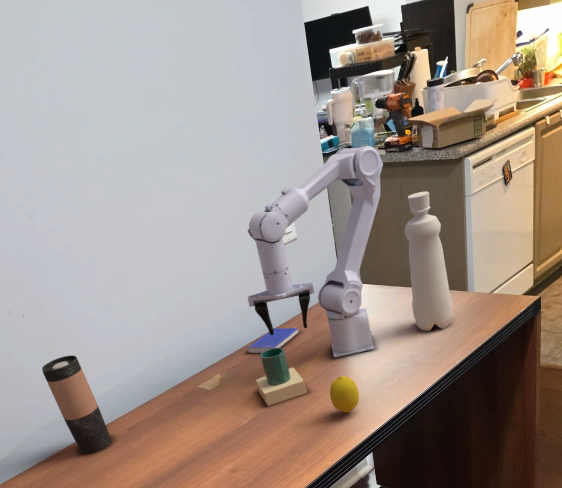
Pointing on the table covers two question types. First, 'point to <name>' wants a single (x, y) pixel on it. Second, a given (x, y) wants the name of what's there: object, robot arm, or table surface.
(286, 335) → the blue book
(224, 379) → the table surface
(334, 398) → the lemon
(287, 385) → the block
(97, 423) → the travel mug
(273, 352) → the cup
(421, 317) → the bottle
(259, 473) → the table surface
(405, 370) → the table surface
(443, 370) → the table surface
